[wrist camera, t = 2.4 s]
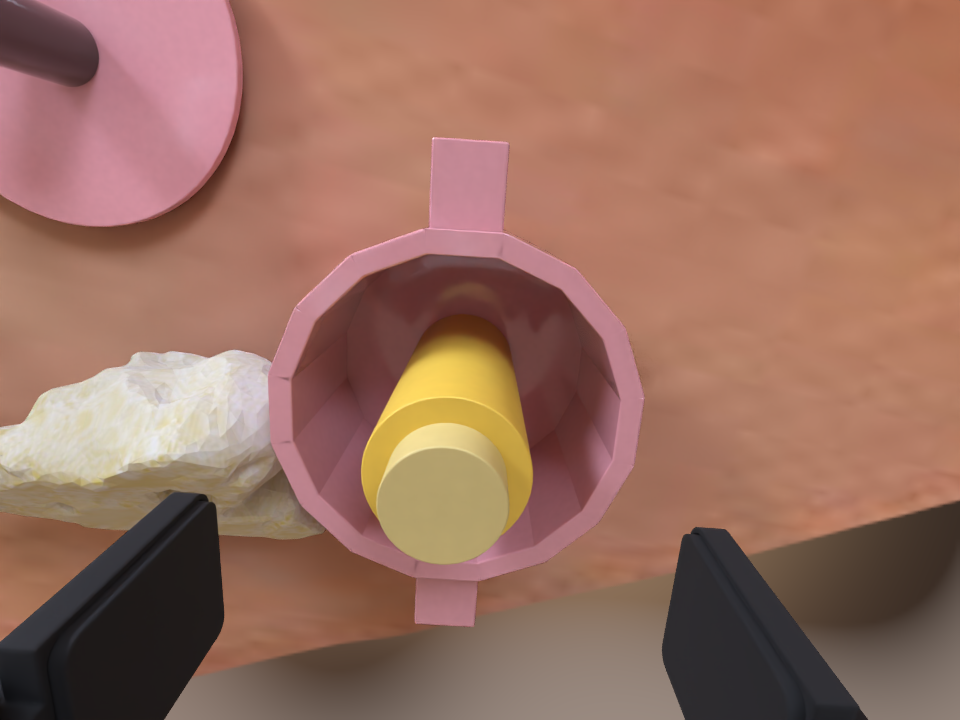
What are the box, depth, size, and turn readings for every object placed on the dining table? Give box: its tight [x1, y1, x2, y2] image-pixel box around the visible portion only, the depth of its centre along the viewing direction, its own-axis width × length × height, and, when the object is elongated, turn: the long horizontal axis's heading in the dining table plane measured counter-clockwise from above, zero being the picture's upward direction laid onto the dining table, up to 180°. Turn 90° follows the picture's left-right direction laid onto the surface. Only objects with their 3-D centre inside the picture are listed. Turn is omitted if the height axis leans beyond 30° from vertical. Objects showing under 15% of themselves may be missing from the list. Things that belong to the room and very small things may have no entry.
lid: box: [0, 0, 243, 227], centre depth 20 cm, size 14×14×6 cm
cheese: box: [0, 350, 326, 539], centre depth 24 cm, size 15×7×15 cm
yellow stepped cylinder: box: [361, 314, 533, 565], centre depth 19 cm, size 5×5×13 cm
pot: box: [268, 137, 645, 627], centre depth 22 cm, size 13×18×8 cm
